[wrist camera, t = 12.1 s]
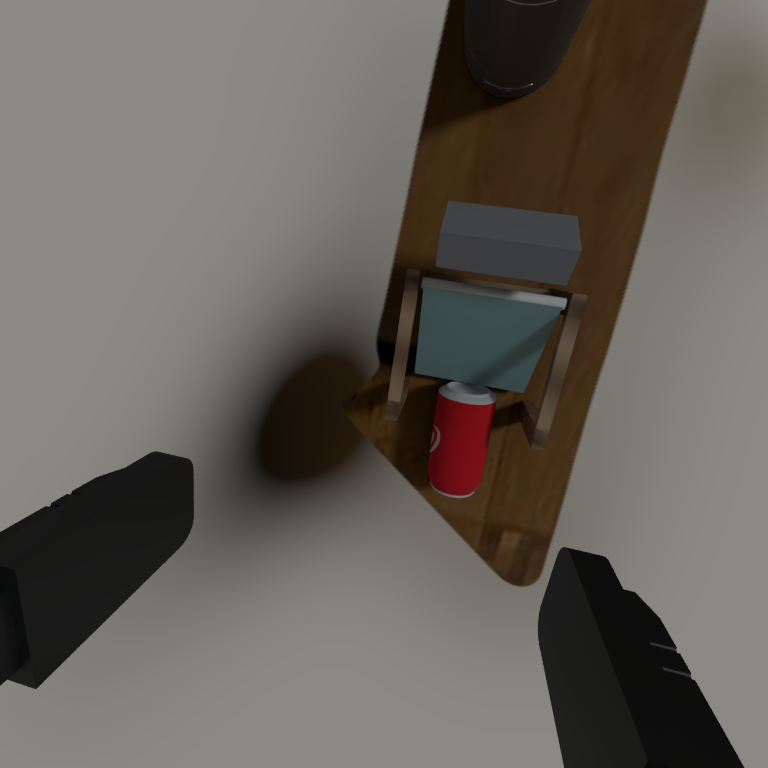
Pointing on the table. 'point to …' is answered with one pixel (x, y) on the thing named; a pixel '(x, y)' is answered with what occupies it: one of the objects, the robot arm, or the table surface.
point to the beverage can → (460, 438)
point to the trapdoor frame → (530, 417)
